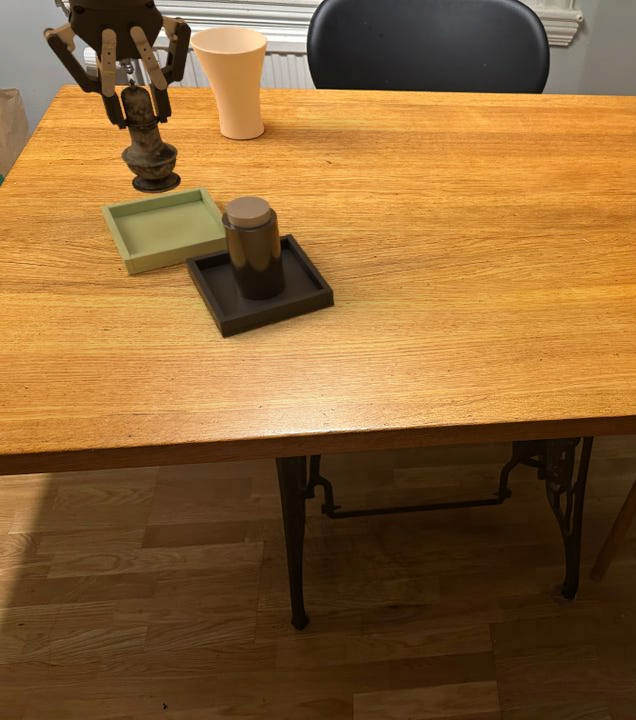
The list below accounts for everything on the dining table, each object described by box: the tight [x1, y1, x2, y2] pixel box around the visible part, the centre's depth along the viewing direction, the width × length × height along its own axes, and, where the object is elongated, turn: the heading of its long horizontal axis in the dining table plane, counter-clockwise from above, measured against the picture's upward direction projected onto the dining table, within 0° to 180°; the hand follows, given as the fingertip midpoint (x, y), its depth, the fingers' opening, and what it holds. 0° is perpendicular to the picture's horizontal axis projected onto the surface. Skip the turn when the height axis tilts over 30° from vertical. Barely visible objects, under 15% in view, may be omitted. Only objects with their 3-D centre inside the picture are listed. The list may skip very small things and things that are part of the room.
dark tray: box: [185, 233, 335, 338], centre depth 79 cm, size 13×13×2 cm
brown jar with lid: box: [222, 195, 285, 300], centre depth 76 cm, size 6×6×10 cm
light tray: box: [100, 185, 227, 276], centre depth 85 cm, size 13×13×2 cm
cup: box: [189, 26, 268, 140], centre depth 103 cm, size 10×10×14 cm
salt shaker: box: [120, 77, 182, 195], centre depth 77 cm, size 6×6×12 cm
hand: (142, 122), depth 76 cm, fingers closed on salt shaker, 3 cm apart
